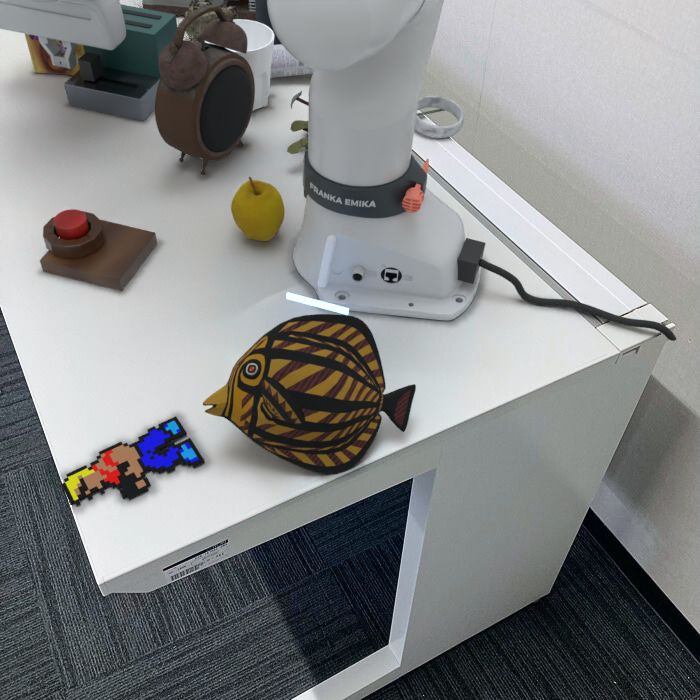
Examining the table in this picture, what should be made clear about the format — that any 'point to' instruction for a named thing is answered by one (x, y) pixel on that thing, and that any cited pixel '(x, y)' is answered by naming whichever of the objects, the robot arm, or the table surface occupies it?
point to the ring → (445, 105)
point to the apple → (258, 210)
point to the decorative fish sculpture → (312, 393)
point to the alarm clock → (205, 89)
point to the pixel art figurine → (133, 463)
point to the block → (98, 252)
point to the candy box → (43, 59)
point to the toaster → (127, 67)
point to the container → (286, 64)
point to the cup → (258, 57)
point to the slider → (90, 66)
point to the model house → (178, 3)
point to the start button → (71, 224)
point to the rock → (205, 17)
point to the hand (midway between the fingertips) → (65, 65)
